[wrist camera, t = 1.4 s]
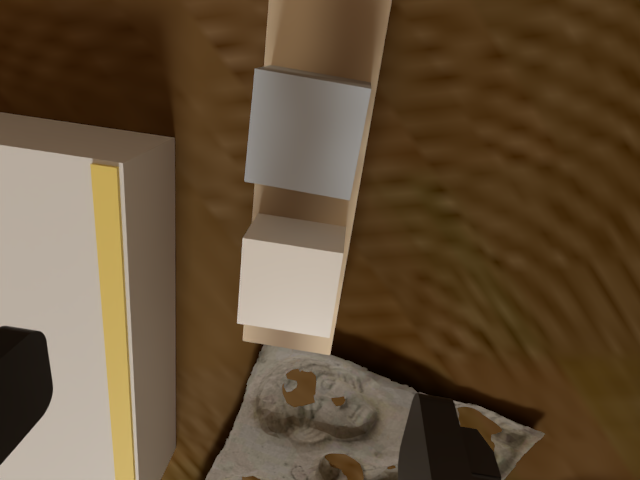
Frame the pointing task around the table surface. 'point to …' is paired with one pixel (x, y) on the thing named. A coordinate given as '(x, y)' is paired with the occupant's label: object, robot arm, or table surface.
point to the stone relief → (332, 423)
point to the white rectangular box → (92, 294)
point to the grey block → (305, 130)
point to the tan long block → (336, 60)
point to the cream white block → (290, 274)
